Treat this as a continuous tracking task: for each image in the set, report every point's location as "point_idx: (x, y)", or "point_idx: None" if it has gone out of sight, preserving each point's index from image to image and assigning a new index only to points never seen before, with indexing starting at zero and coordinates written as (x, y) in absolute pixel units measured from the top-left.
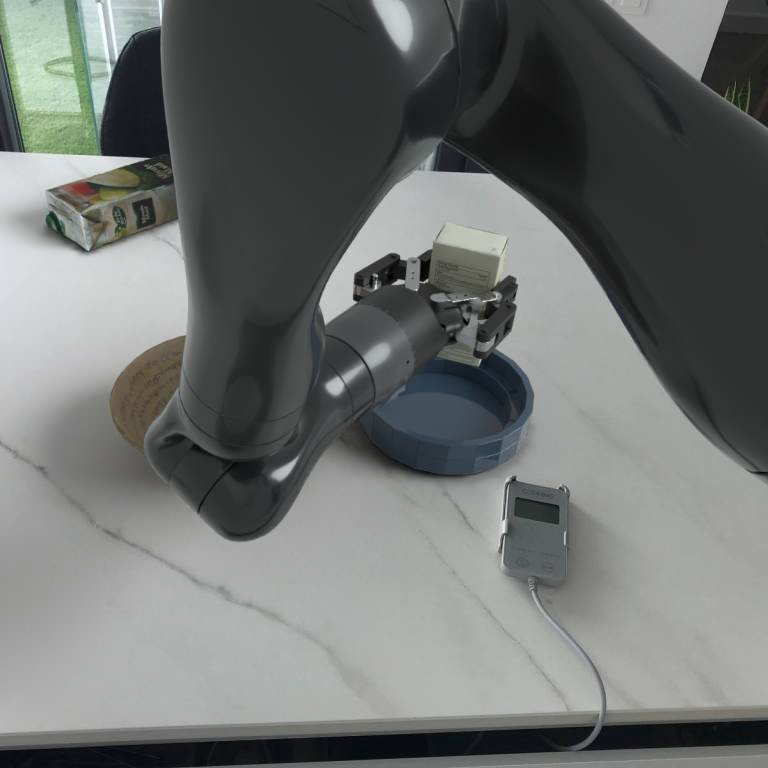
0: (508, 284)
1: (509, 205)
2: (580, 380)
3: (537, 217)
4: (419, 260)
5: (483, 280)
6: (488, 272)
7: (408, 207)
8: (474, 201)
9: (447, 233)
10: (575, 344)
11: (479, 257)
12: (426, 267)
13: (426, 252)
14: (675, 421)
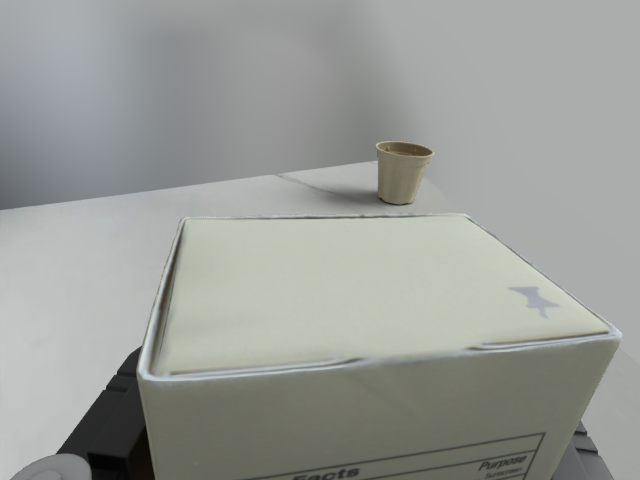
0: None
1: (224, 207)
2: None
3: (258, 212)
4: (85, 470)
5: (501, 476)
6: (535, 434)
7: (108, 234)
8: (186, 211)
9: (219, 275)
10: None
11: (497, 379)
12: (142, 468)
13: (126, 370)
14: (608, 438)
